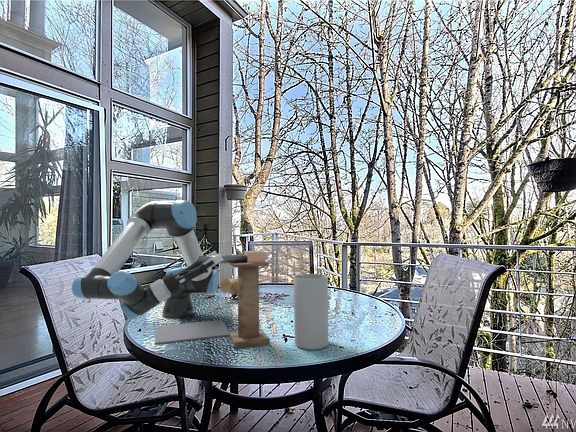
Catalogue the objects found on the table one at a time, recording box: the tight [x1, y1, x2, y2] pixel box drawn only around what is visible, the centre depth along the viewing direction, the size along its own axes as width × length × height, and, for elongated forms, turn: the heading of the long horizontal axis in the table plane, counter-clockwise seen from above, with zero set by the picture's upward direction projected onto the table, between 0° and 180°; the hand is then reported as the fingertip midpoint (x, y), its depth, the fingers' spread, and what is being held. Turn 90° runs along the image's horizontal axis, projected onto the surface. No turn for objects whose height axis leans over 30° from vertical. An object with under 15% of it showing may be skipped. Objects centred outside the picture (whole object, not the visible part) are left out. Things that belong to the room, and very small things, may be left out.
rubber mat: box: [154, 319, 230, 345], centre depth 140 cm, size 22×28×1 cm
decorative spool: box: [219, 277, 238, 298], centre depth 206 cm, size 10×12×30 cm
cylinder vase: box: [293, 273, 329, 351], centre depth 124 cm, size 12×12×25 cm
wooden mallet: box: [199, 250, 267, 265], centre depth 127 cm, size 24×7×4 cm, turn 109°
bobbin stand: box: [228, 261, 271, 349], centre depth 129 cm, size 13×13×30 cm
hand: (219, 254), depth 126 cm, fingers open, 12 cm apart
